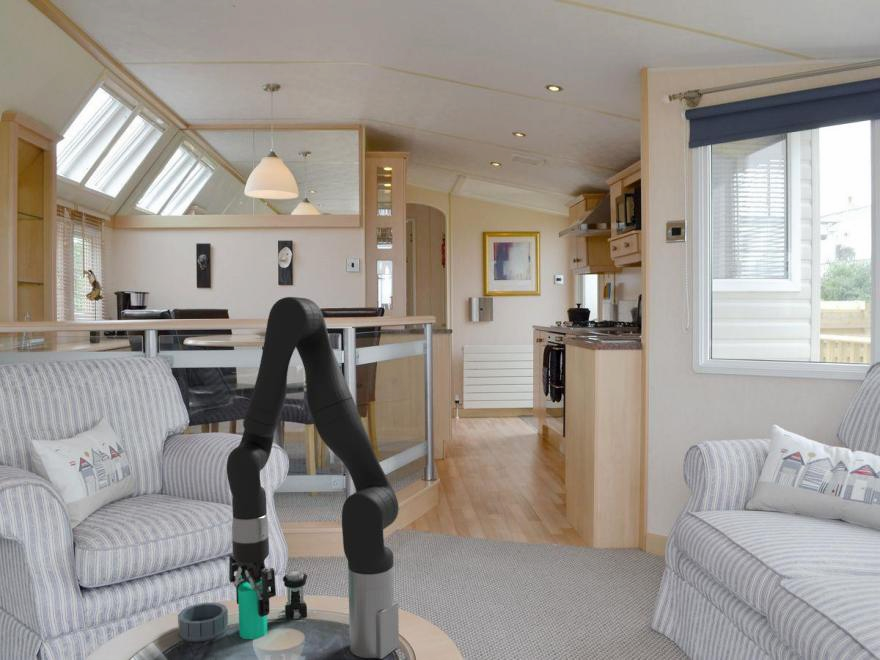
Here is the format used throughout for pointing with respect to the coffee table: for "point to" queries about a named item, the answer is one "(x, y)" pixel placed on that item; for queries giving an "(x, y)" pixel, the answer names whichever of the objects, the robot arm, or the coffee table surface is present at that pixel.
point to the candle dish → (202, 622)
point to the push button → (294, 595)
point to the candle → (250, 613)
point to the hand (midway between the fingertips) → (252, 609)
